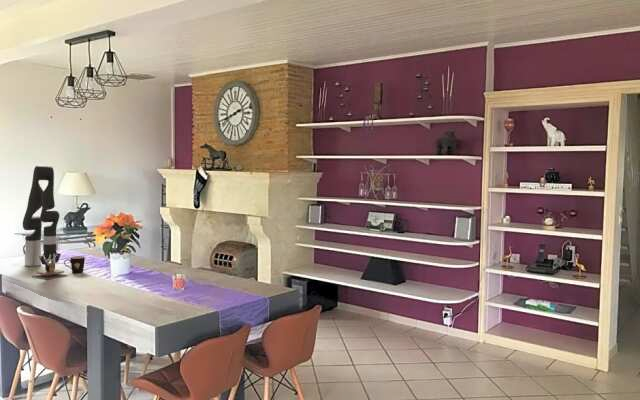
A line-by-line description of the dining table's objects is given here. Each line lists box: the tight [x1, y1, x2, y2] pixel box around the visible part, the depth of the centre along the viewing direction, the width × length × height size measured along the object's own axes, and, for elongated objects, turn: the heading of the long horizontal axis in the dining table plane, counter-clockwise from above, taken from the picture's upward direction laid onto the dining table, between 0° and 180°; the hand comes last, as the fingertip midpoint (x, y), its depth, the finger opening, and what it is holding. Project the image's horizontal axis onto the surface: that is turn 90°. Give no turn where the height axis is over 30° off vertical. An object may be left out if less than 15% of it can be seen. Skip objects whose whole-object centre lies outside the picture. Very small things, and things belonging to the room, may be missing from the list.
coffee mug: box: [63, 255, 86, 275], centre depth 341 cm, size 12×9×10 cm
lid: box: [35, 262, 65, 276], centre depth 328 cm, size 11×11×6 cm
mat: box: [31, 273, 68, 281], centre depth 328 cm, size 14×14×1 cm
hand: (50, 270), depth 328 cm, fingers closed on lid, 3 cm apart
